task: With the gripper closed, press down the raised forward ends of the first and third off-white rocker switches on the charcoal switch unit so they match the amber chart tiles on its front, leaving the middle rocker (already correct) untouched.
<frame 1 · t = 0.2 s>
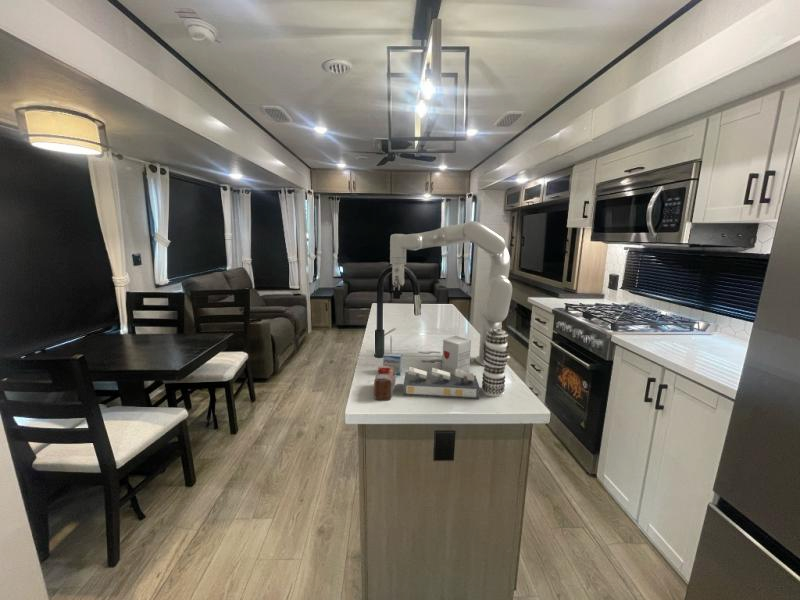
hand: (397, 296, 153), 31 cm above the countertop, fingers open, 9 cm apart
supplement box: (455, 371, 144), on the countertop
rocker a: (464, 374, 123), point 7 cm above the countertop, hinge at -14.0°
decorative candle: (492, 391, 125), on the countertop
rocker c: (417, 372, 124), point 7 cm above the countertop, hinge at -14.0°
medicine box: (392, 373, 141), on the countertop
rocker b: (440, 373, 123), point 7 cm above the countertop, hinge at -14.0°
switch unit: (440, 391, 125), on the countertop
food item: (385, 392, 124), on the countertop
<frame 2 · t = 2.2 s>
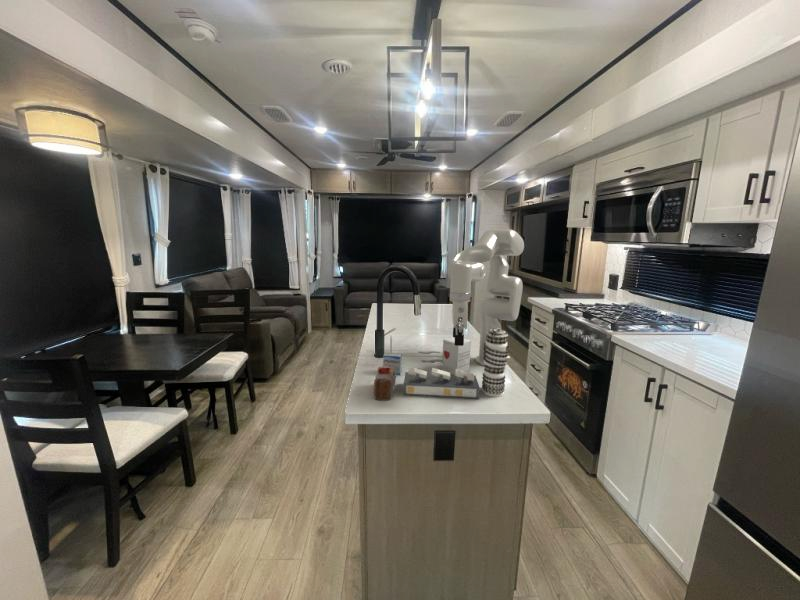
hand: (457, 341, 121), 20 cm above the countertop, fingers open, 9 cm apart
nothing on the countertop moved.
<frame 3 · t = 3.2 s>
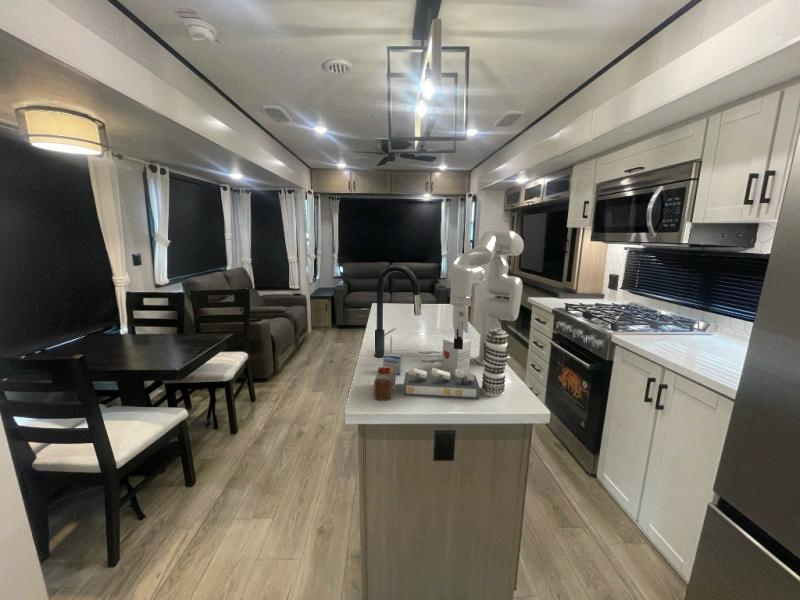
hand: (458, 348, 120), 18 cm above the countertop, fingers closed
nothing on the countertop moved.
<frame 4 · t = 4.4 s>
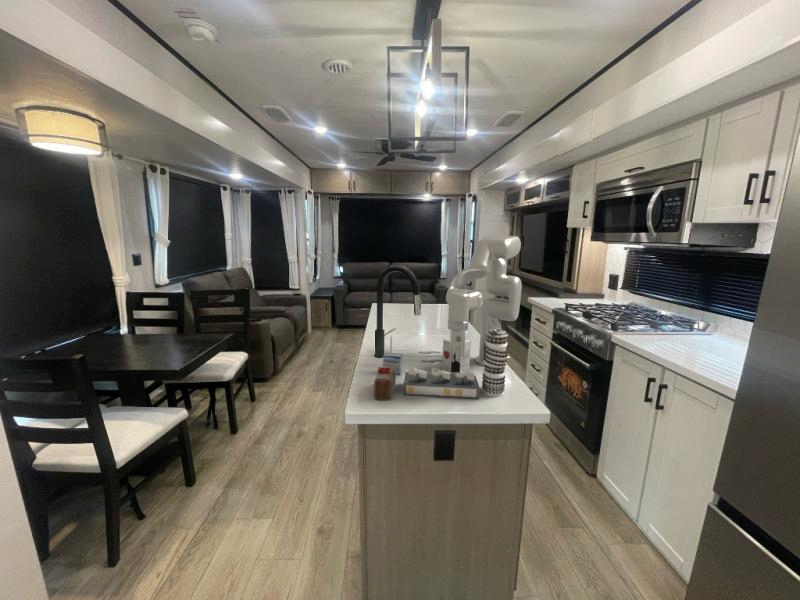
hand: (455, 371, 122), 9 cm above the countertop, fingers closed
rocker a: (464, 374, 123), point 7 cm above the countertop, hinge at -11.2°, touching gripper
everything else where it was.
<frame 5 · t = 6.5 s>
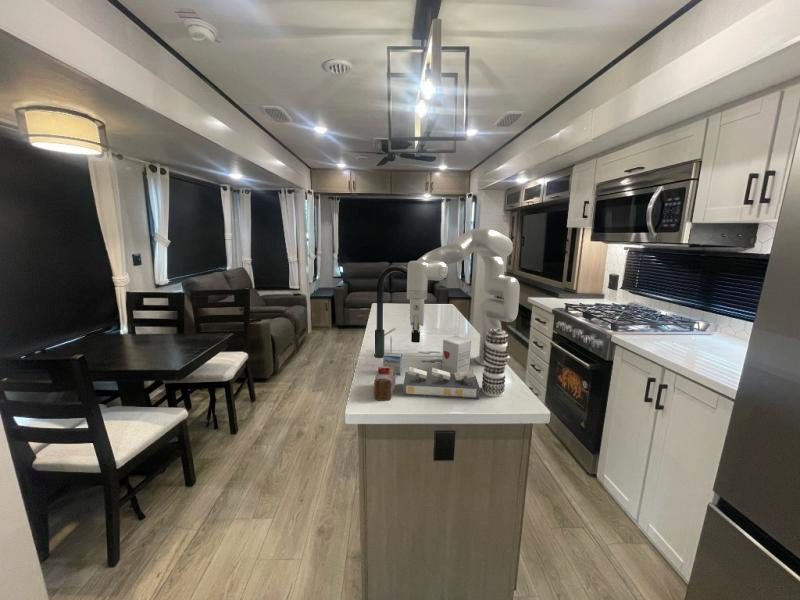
hand: (415, 341, 122), 20 cm above the countertop, fingers closed
rocker a: (464, 374, 123), point 7 cm above the countertop, hinge at 15.7°
everything else where it was.
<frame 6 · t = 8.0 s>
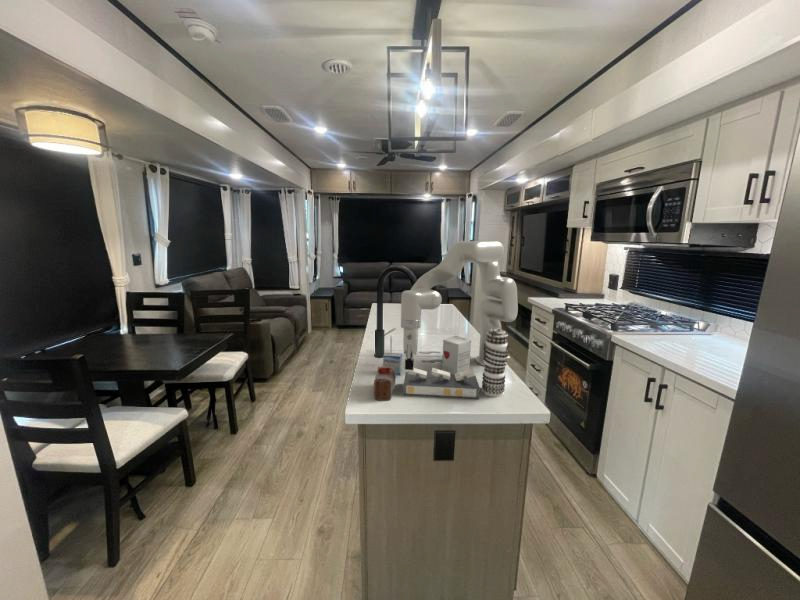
hand: (409, 368, 124), 9 cm above the countertop, fingers closed
rocker a: (464, 374, 123), point 7 cm above the countertop, hinge at 21.4°
rocker c: (417, 372, 124), point 7 cm above the countertop, hinge at -13.1°, touching gripper
everything else where it was.
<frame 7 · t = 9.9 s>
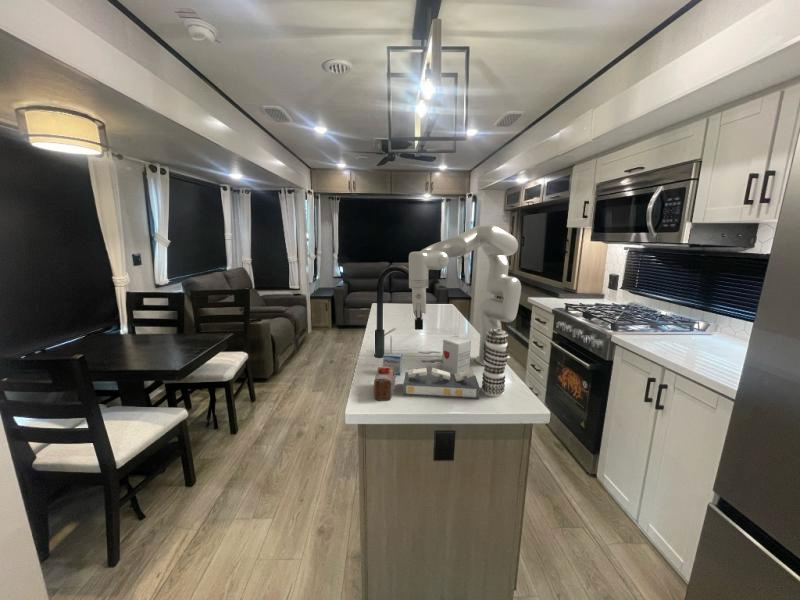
hand: (418, 328, 128), 23 cm above the countertop, fingers closed
rocker a: (464, 374, 123), point 7 cm above the countertop, hinge at 24.0°
rocker c: (417, 372, 124), point 7 cm above the countertop, hinge at 10.3°
everything else where it was.
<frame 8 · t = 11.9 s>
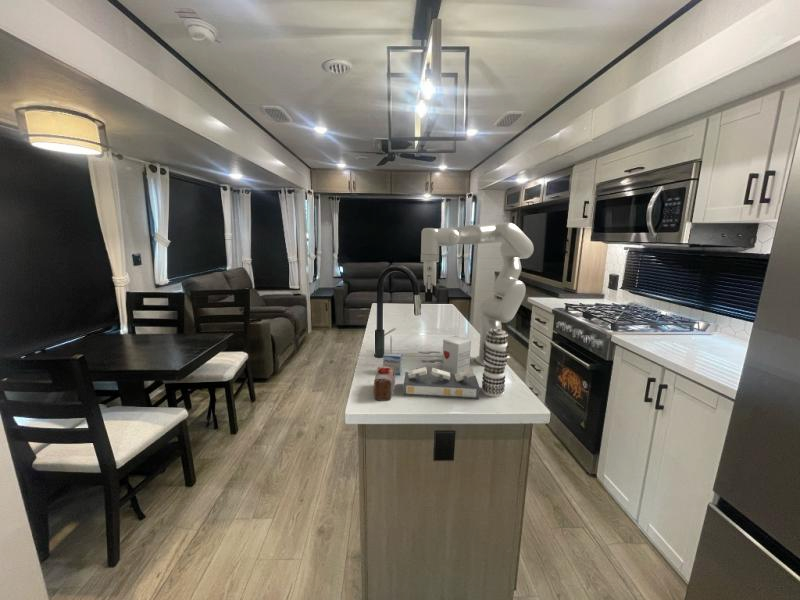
hand: (428, 301, 137), 32 cm above the countertop, fingers closed
rocker a: (464, 374, 123), point 7 cm above the countertop, hinge at 24.9°
rocker c: (417, 372, 124), point 7 cm above the countertop, hinge at 17.7°
everything else where it was.
at the end: rocker a at +25° (first picture: -14°); rocker c at +18° (first picture: -14°); rocker b at -14° (first picture: -14°) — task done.
